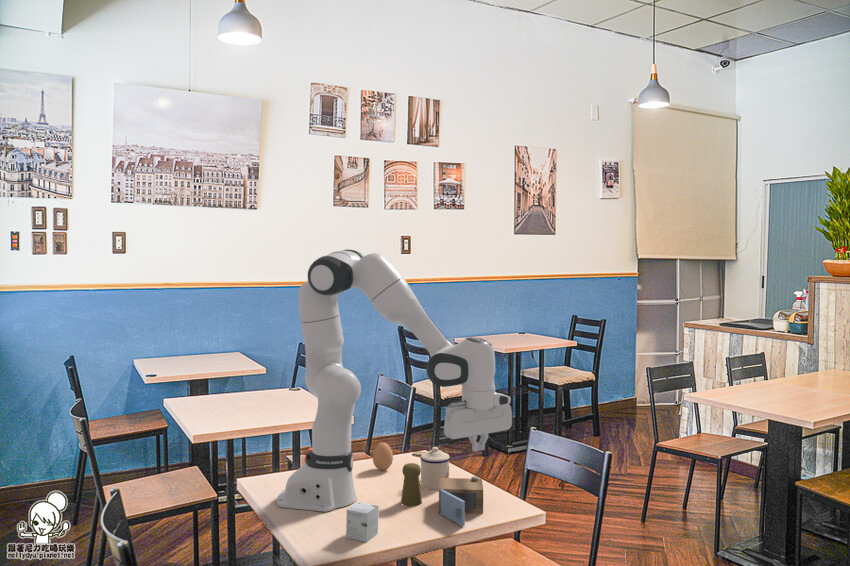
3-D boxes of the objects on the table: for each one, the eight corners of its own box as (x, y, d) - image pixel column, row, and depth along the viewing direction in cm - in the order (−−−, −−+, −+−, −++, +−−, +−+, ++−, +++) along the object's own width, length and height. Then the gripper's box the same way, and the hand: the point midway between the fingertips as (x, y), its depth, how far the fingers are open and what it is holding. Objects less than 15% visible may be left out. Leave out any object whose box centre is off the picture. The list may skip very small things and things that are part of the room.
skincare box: (345, 538, 164) (345, 509, 163) (358, 529, 169) (358, 501, 169) (367, 542, 161) (367, 513, 161) (378, 533, 167) (379, 504, 167)
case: (439, 512, 180) (439, 486, 180) (439, 500, 190) (439, 475, 189) (483, 513, 180) (483, 487, 180) (481, 501, 189) (481, 475, 189)
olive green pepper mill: (419, 507, 184) (419, 468, 184) (398, 505, 185) (398, 466, 185) (423, 499, 190) (424, 461, 190) (403, 497, 191) (403, 460, 191)
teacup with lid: (453, 489, 199) (453, 451, 198) (423, 491, 197) (424, 452, 196) (443, 476, 210) (443, 440, 210) (415, 478, 208) (415, 441, 208)
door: (435, 513, 179) (435, 489, 179) (441, 511, 180) (441, 488, 180) (459, 527, 170) (459, 502, 170) (465, 525, 171) (465, 501, 171)
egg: (397, 470, 216) (397, 442, 216) (381, 474, 212) (381, 446, 211) (384, 465, 221) (384, 438, 221) (368, 469, 216) (368, 442, 216)
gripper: (452, 405, 167) (452, 460, 167) (515, 396, 178) (515, 447, 178) (439, 401, 172) (439, 453, 173) (500, 392, 183) (500, 442, 184)
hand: (478, 450), depth 176 cm, fingers closed
